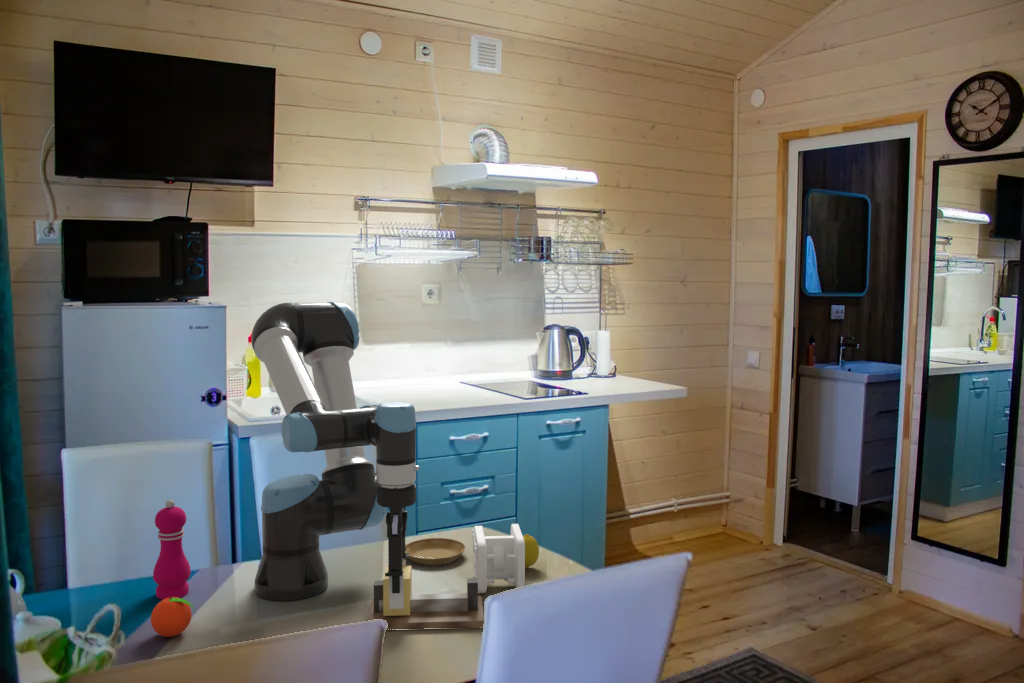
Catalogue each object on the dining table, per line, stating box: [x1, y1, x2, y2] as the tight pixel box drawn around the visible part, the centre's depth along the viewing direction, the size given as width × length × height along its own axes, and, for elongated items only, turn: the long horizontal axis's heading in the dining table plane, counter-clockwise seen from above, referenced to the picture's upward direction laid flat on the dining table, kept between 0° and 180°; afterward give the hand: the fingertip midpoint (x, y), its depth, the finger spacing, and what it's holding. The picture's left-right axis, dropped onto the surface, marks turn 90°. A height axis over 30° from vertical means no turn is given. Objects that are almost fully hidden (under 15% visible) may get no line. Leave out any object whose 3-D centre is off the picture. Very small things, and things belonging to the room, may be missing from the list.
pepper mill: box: [152, 499, 192, 600], centre depth 165 cm, size 7×7×20 cm
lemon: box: [523, 533, 540, 570], centre depth 182 cm, size 6×6×8 cm
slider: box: [382, 565, 413, 616], centre depth 154 cm, size 5×7×7 cm
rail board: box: [366, 577, 485, 630], centre depth 155 cm, size 22×12×7 cm, turn 95°
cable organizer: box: [471, 523, 526, 594], centre depth 172 cm, size 15×11×12 cm
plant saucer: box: [405, 537, 466, 566], centre depth 189 cm, size 15×15×3 cm
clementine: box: [150, 597, 196, 638], centre depth 146 cm, size 8×7×7 cm
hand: (397, 599), depth 155 cm, fingers closed on slider, 7 cm apart
